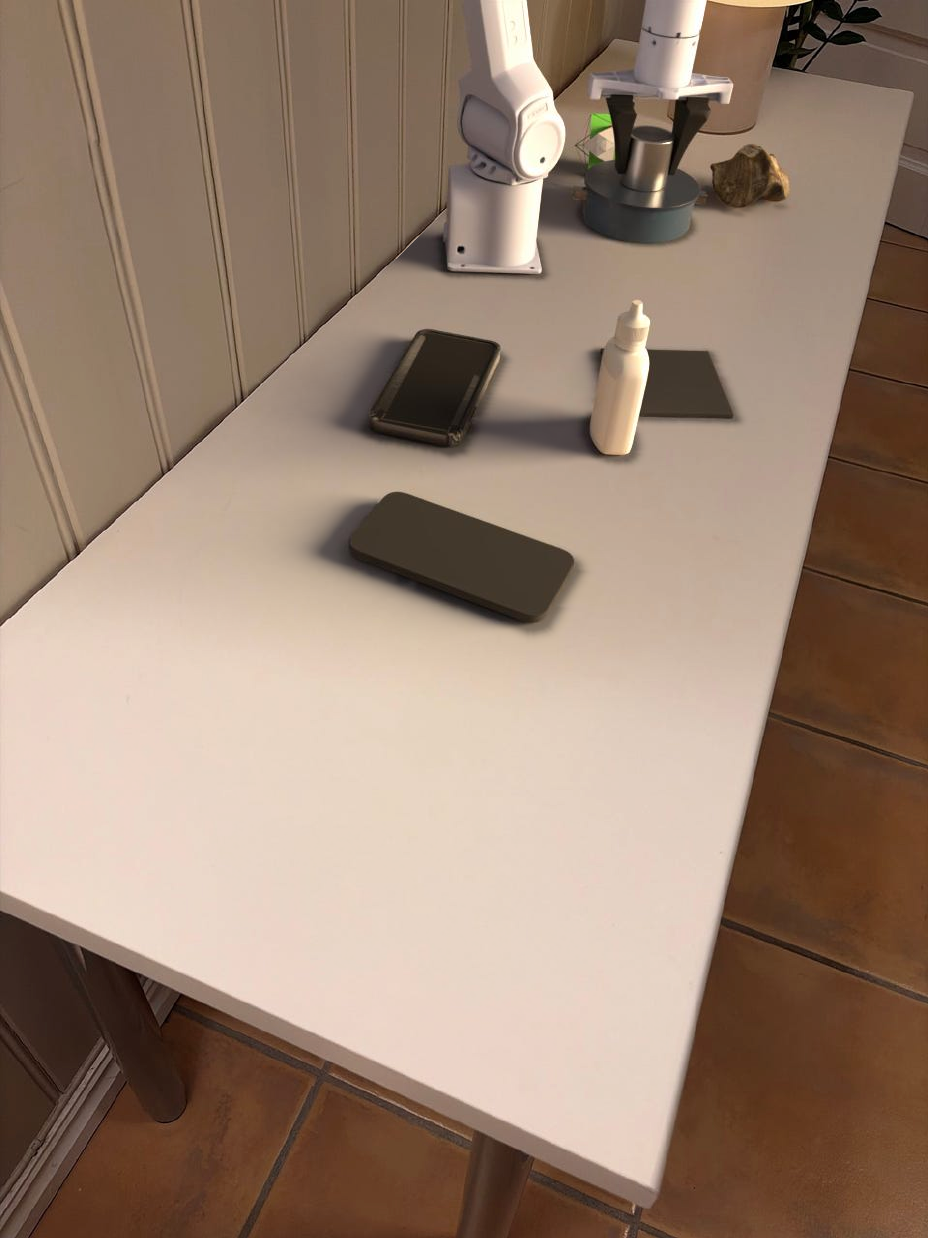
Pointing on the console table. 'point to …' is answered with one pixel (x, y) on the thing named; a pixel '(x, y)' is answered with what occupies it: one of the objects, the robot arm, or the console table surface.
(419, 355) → the phone
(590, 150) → the geometric puzzle
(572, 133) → the console table surface
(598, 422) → the eye dropper bottle
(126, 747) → the console table surface
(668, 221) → the grey cooking pot
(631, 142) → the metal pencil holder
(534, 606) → the phone
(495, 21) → the robot arm
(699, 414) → the mat
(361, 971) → the console table surface
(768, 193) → the fossilized seashell
